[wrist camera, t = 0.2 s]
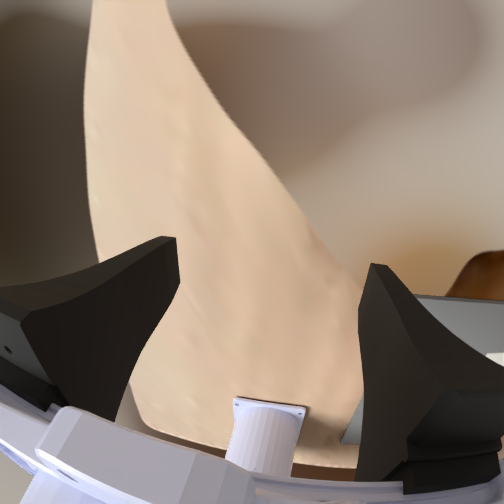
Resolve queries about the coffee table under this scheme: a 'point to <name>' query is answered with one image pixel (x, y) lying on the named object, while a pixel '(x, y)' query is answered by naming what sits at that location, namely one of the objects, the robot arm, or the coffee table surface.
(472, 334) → the build mat
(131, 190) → the coffee table surface
